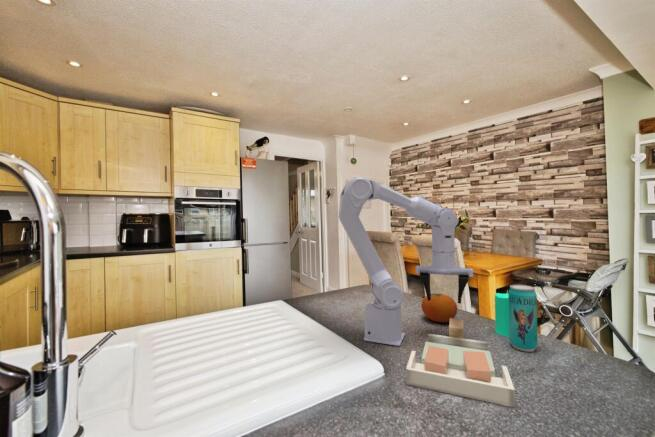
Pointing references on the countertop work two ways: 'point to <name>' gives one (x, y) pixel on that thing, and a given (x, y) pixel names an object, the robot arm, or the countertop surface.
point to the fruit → (439, 307)
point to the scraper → (457, 337)
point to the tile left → (436, 360)
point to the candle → (502, 314)
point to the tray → (462, 383)
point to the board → (458, 356)
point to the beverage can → (523, 317)
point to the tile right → (476, 366)
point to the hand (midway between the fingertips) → (444, 301)
